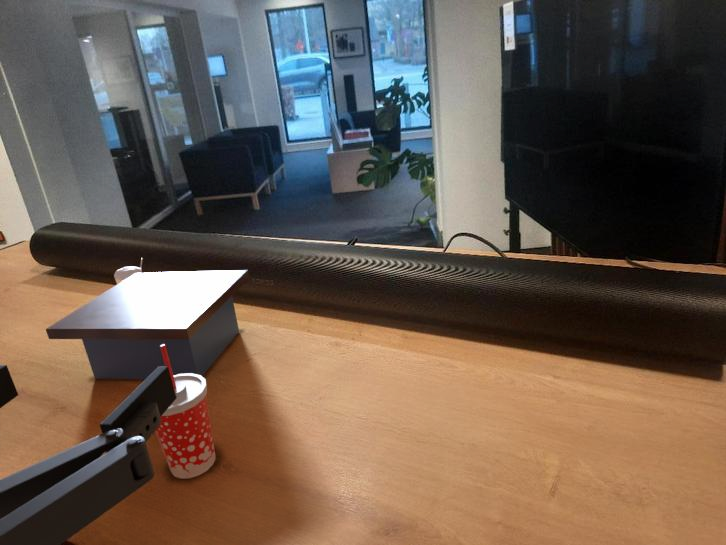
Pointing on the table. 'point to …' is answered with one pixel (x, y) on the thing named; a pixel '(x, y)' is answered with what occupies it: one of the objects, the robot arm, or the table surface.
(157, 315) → the board
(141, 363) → the blue box
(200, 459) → the beverage cup
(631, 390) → the table surface
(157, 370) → the robot arm
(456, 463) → the table surface
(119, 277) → the milkshake
